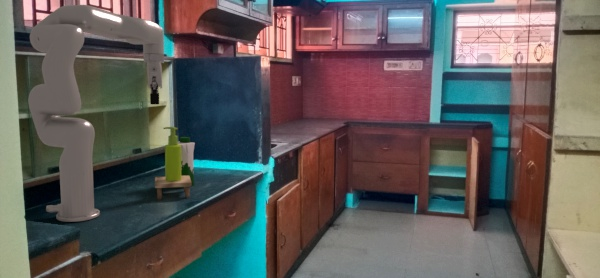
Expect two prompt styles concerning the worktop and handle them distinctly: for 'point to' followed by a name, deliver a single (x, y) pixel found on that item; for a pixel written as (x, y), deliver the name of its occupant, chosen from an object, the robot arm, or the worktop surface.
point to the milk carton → (187, 158)
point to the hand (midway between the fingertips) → (154, 103)
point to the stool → (173, 185)
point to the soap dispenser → (172, 157)
